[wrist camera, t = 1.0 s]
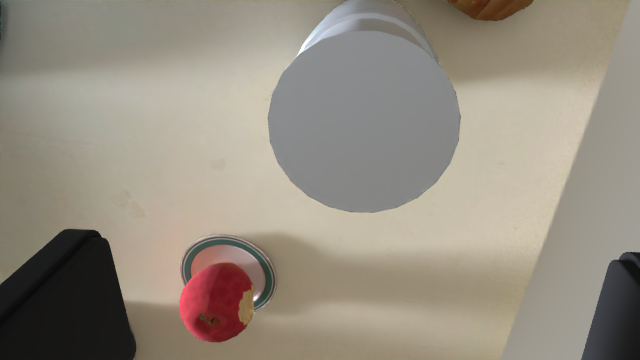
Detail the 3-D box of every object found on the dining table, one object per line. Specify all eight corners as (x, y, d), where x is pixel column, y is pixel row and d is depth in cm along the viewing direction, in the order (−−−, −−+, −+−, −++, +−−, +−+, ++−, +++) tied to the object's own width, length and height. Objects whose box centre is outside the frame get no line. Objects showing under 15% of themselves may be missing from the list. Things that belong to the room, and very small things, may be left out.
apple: (228, 213, 37) (199, 263, 31) (297, 280, 39) (283, 339, 33) (163, 265, 39) (126, 319, 34) (231, 324, 42) (207, 386, 36)
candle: (359, 123, 32) (347, 245, 19) (292, 41, 30) (227, 113, 17) (445, 59, 30) (502, 148, 16) (379, -34, 28) (382, -20, 15)
